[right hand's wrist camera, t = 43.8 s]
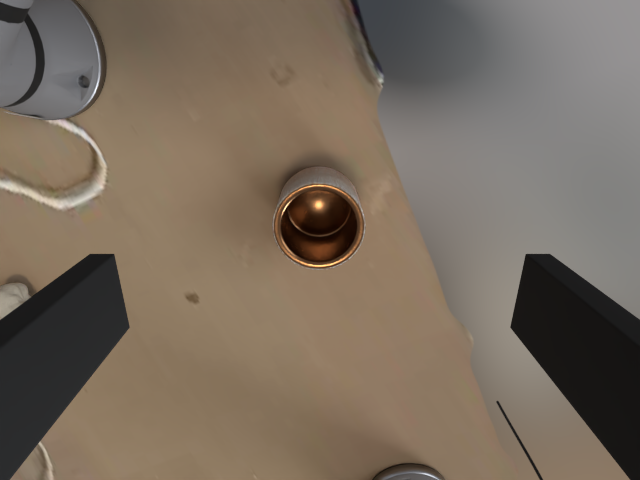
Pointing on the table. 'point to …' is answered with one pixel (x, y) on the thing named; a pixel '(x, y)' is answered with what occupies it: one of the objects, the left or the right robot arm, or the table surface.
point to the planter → (318, 219)
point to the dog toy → (12, 297)
